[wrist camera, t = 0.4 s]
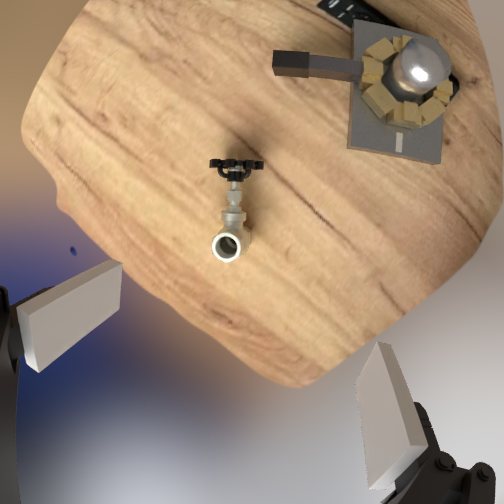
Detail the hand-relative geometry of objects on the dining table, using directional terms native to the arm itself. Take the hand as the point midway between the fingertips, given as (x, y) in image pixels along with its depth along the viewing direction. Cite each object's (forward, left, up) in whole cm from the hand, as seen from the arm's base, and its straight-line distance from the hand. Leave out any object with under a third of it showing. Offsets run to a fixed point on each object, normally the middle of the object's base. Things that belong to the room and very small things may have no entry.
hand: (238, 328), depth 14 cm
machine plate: (-21, +13, -27) cm, 36 cm away
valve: (-3, -6, -27) cm, 28 cm away
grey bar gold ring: (-21, +8, -23) cm, 32 cm away
